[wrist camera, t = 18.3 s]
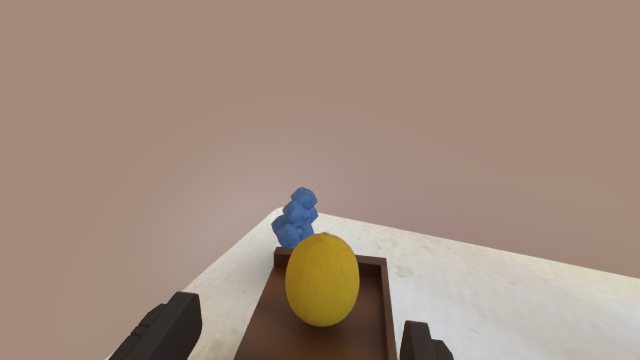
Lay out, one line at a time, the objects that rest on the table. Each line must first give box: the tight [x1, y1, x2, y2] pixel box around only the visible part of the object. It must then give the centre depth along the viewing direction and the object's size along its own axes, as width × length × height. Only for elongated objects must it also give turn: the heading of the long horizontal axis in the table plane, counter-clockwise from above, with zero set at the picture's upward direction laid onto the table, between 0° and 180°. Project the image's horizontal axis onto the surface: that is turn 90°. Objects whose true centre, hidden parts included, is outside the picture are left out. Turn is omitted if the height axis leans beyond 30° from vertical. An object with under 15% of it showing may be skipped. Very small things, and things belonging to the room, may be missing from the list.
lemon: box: [285, 232, 360, 327], centre depth 24 cm, size 6×6×8 cm
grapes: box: [271, 187, 318, 248], centre depth 47 cm, size 12×7×12 cm, turn 163°
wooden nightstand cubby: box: [233, 247, 397, 360], centre depth 27 cm, size 15×11×12 cm
